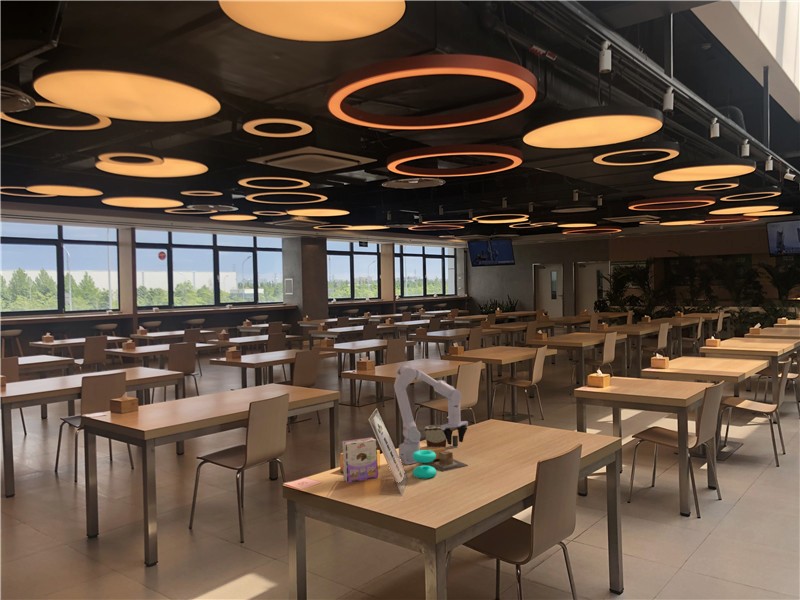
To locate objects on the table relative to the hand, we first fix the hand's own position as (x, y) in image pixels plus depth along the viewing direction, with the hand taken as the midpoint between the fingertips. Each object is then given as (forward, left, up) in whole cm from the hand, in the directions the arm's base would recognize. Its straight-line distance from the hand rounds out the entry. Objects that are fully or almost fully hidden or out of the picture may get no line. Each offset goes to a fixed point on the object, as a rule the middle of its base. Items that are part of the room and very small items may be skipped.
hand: (455, 442), depth 278 cm
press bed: (-11, -6, -6) cm, 14 cm away
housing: (-11, -8, -6) cm, 15 cm away
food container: (+4, +21, -7) cm, 22 cm away
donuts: (-27, -15, -7) cm, 32 cm away
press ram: (-7, 0, -5) cm, 9 cm away
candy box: (-51, -2, -7) cm, 52 cm away
